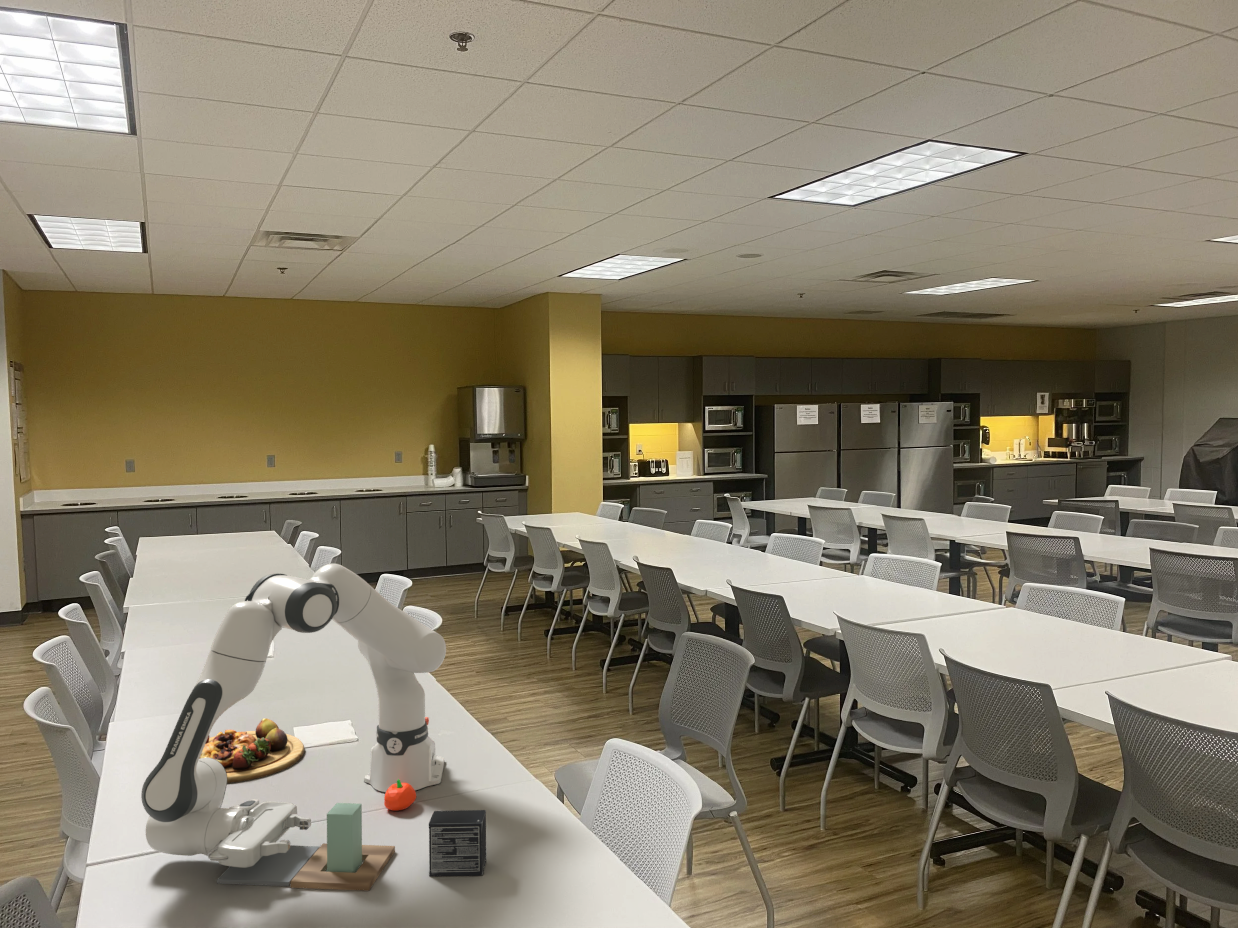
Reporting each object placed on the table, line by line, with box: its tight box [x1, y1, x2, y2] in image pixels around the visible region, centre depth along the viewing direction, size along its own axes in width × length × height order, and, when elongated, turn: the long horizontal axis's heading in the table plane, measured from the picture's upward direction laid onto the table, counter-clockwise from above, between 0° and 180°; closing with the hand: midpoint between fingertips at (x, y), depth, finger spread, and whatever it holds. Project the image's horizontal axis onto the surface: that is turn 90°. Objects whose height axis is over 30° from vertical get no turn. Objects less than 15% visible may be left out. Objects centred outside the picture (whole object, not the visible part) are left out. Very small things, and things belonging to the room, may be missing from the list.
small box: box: [428, 809, 487, 877], centre depth 170 cm, size 11×6×10 cm, turn 92°
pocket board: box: [290, 842, 396, 892], centre depth 170 cm, size 15×15×1 cm
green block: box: [326, 802, 363, 873], centre depth 170 cm, size 5×5×12 cm
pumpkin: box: [383, 779, 417, 812], centre depth 197 cm, size 7×8×6 cm
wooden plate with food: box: [199, 717, 305, 784], centre depth 226 cm, size 32×32×8 cm
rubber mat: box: [216, 844, 321, 887], centre depth 171 cm, size 14×14×1 cm
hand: (299, 834), depth 170 cm, fingers open, 8 cm apart
